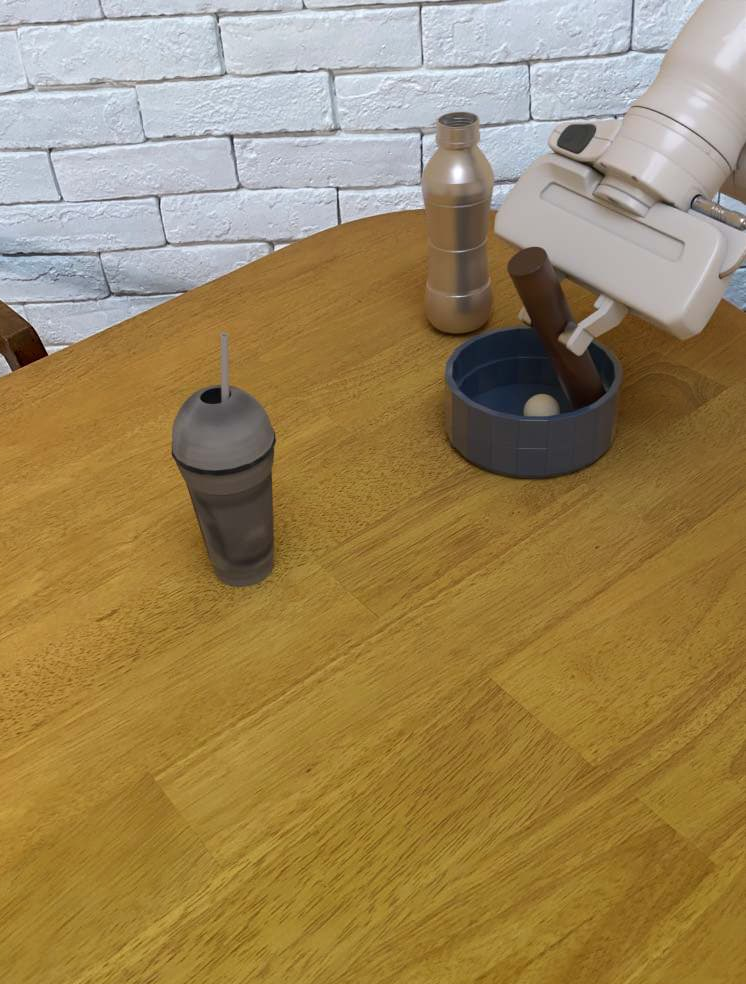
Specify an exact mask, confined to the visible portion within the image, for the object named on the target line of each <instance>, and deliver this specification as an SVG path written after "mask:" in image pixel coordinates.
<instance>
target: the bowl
mask: <svg viewBox="0 0 746 984" xmlns="http://www.w3.org/2000/svg"><path fill="white" fill-rule="evenodd" d="M587 348H588V351H589V353H590V355H591V358H592V360H593V362H594V365H595V367H596V369H597V372H598V374H599V376H600V379H601V381H602V383H603V386H604V388H605V390H606V394H605V395H604V396H602V397H601V398H600V399H599V400H597V401H596V402H595V403H593V404H591V405H588V406H586V407H583V408H581V409H579V410H576V411H574V412H573V410H572V408H571V406H570V404H569V401H568V399H567V397H566V395H565V393H564V391H563V389H562V386H561V384H560V382H559V380H558V378H557V376H556V374H555V371H554V369H553V367H552V365H551V363H550V361H549V359H548V356H547V354H546V352H545V350H544V348H543V346H542V343H541V341H540V339H539V337H538V335H537V333H536V331H535V330H534V329H532V328H531V327H529V326H527V325H526V324H519V325H518V324H517V325H511V326H504V327H497V328H494V329H490V330H488V331H485V332H482V333H480V334H476V335H474V336H472V337H470V338H469V339H467V340H466V341H464V342H463V343H461V344H460V345H459V346H457V347H456V348H454V350H453V351H452V353H451V354H450V356H449V357H448V359H447V360H446V362H445V371H444V431H445V433H446V436H447V437H448V439H449V441H450V444H451V446H453V447H454V448H455V450H456V451H457V452H458V453H459V454H460V455H461V456H462V457H463V458H464V459H465V460H467V461H468V462H470V463H471V464H473V465H474V466H476V467H478V468H480V469H482V470H485V471H487V472H490V473H493V474H496V475H500V476H504V477H509V478H514V479H515V478H516V479H526V480H528V479H529V480H530V479H531V480H536V479H538V480H540V479H551V478H557V477H561V476H566V475H569V474H573V473H575V472H578V471H581V470H583V469H584V468H586V467H588V466H590V465H592V464H594V463H595V462H596V461H597V460H598V459H600V458H601V457H602V455H603V454H605V453H606V452H607V451H608V450H609V449H611V448H610V447H611V446H612V444H613V442H614V439H615V437H616V435H617V432H618V425H619V415H620V408H621V407H620V405H621V397H622V388H623V380H624V376H623V370H622V363H621V361H620V360H619V358H618V357H617V356H616V354H615V353H614V352H613V350H612V349H611V348H609V347H608V346H607V345H606V344H604V343H602V342H601V341H599V340H597V339H596V338H595V337H594V338H593V340H592V341H591V343H590V344H589V346H588V347H587ZM538 394H546V395H549V396H551V397H553V398H554V399H555V400H556V401H557V403H558V405H559V407H560V414H557V415H552V416H524V407H525V404H526V403H527V401H528V400H529V399H530V398H531V397H533V396H535V395H538Z"/></svg>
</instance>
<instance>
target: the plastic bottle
mask: <svg viewBox="0 0 746 984" xmlns="http://www.w3.org/2000/svg"><path fill="white" fill-rule="evenodd" d="M480 121H481V120H480V117H479V115H478V114H476V113H473V112H471V111H451V112H448V113H444V114H442V115H440V116H439V117H438V118H437V120H436V134H435V140H434V141H435V144H436V145H437V146H438V147H437V149H436V150H435V151H434V152H433V154H432V155H431V157H430V159H429V160H428V161H427V163H426V165H425V167H424V169H423V171H422V175H421V179H420V186H421V193H422V201H423V207H424V212H425V217H426V223H427V224H426V227H427V235H428V249H429V251H428V267H427V279H426V282H425V283H426V284H425V289H424V300H423V306H424V311H425V315H426V319H427V320H428V321H429V323H430V324H431V325H432V326H433V327H434V328H435V329H437V330H438V331H440V332H443V333H447V334H466V333H471V332H473V331H476V330H478V329H480V328H481V327H483V325H484V324H485V323H486V322H487V321H488V319H489V318H490V317H491V314H492V309H493V305H494V292H493V285H492V281H491V277H490V270H489V269H490V268H489V267H490V266H489V255H488V234H489V219H490V213H491V206H492V201H493V200H492V199H493V194H494V186H495V185H494V184H495V175H494V171H493V167H492V165H491V163H490V162H489V160H488V158H487V157H486V155H485V153H484V152H483V151H482V150H481V148H480V147H479V145H478V143H480V141H481V132H480Z"/></svg>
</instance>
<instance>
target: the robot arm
mask: <svg viewBox="0 0 746 984" xmlns="http://www.w3.org/2000/svg"><path fill="white" fill-rule="evenodd" d="M547 145H548V147H549V149H551V151H552V152H547V153H544V154H541V155H539V156H538V157H537V158H535V159H534V160H533V161H532V162H531V163H530V164H529V165H528V166H527V168H526V169H525V170H524V172H523V173H522V174H521V176H520V177H519V178H518V180H517V181H516V183H515V184H514V186H513V187H512V188H511V190H509V193H508V194H507V196H506V197H505V199H504V200H503V202H502V204H501V205H500V206H499V209H498V210H497V212H496V214H495V217H494V224H493V233H494V235H495V236H496V237H497V238H498V239H500V240H501V241H502V242H503V243H504V244H505V245H506V246H508V247H509V248H510V249H511V250H513V251H515V252H516V253H518V252H519V251H521V250H523V249H525V248H529V247H541V248H543V249H544V250H545V251H546V253H547V255H548V257H549V260H550V262H551V264H552V267H553V269H554V271H555V274H556V276H557V278H558V281H559V283H560V285H561V284H562V283H563V282H564V280H565V279H567V280H569V281H570V282H572V283H575V284H576V285H578V286H579V287H581V288H583V289H585V290H587V291H589V292H591V293H593V294H594V295H596V296H598V298H597V299H596V300H595V302H594V304H593V307H594V308H595V311H594V312H593V313H591V314H589V316H587V317H586V318H584V319H583V320H581V321H580V322H579V323H577V325H576V324H574V323H572V322H570V321H569V322H568V324H567V325H566V327H565V328H564V332H563V333H561V334H560V336H559V338H558V343H559V344H560V345H562V346H563V347H564V348H566V349H568V350H569V351H571V352H572V353H574V354H576V355H577V356H580V355H582V354H583V353H584V351H585V350H586V348H587V347H588V346H589V344H590V343H591V341H592V340H593V338H595V339H596V338H598V337H600V336H602V335H603V334H605V333H607V332H608V331H611V330H612V329H614V328H615V327H617V326H620V324H621V323H622V321H623V319H624V318H625V316H626V315H627V314H628V313H629V314H632V315H633V316H635V317H637V318H639V319H641V320H643V321H645V322H646V323H648V324H650V325H651V326H653V327H656V328H657V329H660V330H662V331H663V332H665V333H667V334H668V335H671V336H673V337H674V338H676V339H678V340H680V341H686V340H688V339H691V338H693V337H695V336H698V335H699V334H700V333H701V332H702V331H703V330H704V328H705V327H706V326H707V324H708V322H709V321H710V320H711V318H712V316H713V315H714V312H715V311H716V309H717V308H718V306H719V304H720V302H721V300H722V298H723V297H724V295H725V293H726V291H727V289H728V287H729V285H730V283H731V281H732V278H733V276H734V274H735V272H737V271H738V270H739V269H740V267H741V266H742V265H743V264H744V262H745V261H746V232H744V231H746V214H744V213H742V212H739V211H737V210H730V209H729V208H726V207H725V206H723V205H721V204H719V203H717V202H715V201H713V200H714V198H715V197H716V196H717V194H718V193H720V194H722V195H724V196H727V197H729V198H731V199H732V200H736V201H738V202H740V203H742V204H743V205H744V206H746V0H702V2H701V3H700V4H699V5H698V7H697V8H696V10H694V12H693V14H692V15H691V16H690V18H689V19H688V20H687V22H686V23H685V25H684V26H683V28H682V29H681V30H680V32H679V33H678V35H677V36H676V37H675V39H674V41H673V42H672V43H671V45H670V47H669V48H668V50H666V53H665V54H664V56H663V58H662V60H661V64H660V67H659V69H658V73H657V74H656V77H655V79H654V80H653V82H652V83H651V85H650V86H649V87H648V89H646V91H645V92H644V93H643V94H642V95H641V96H639V97H638V98H636V100H634V102H633V103H632V104H631V105H630V107H629V109H628V110H627V111H626V113H625V114H624V116H623V117H622V118H621V119H620V118H619V119H618V118H613V119H605V120H595V121H594V120H593V121H563V122H560V123H559V124H557V125H556V126H555V127H554V129H553V130H552V132H551V133H550V136H549V137H548V139H547ZM517 320H519V321H520V322H521V323H523V325H527V326H529V327H531V328H532V329H534V330H535V328H534V326H533V324H532V322H531V320H530V318H529V316H528V313H527V311H526V309H525V307H524V305H522V308H521V309H520V310H519V312H518V314H517Z"/></svg>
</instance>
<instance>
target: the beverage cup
mask: <svg viewBox="0 0 746 984" xmlns="http://www.w3.org/2000/svg"><path fill="white" fill-rule="evenodd" d="M219 336H220V337H219V338H220V339H219V340H220V384H214V385H210V386H207V387H203V388H200V389H199V390H197V391H195V392H194V393H192V394H191V395H190V396H189V397H187V399H186V400H184V402H183V403H182V404H181V405H180V407H179V408H178V411H177V413H176V415H175V418H174V419H173V423H172V428H171V456H172V458H173V460H174V461H175V463H176V464H175V465H176V466H177V469H178V471H179V473H180V475H181V477H182V479H183V480H184V482H185V485H186V487H187V491H188V495H189V497H190V500H191V504H192V507H193V511H194V513H195V514H194V515H195V517H196V521H197V523H198V526H199V530H200V532H201V533H200V534H201V536H202V539H203V543H204V546H205V549H206V553H207V555H208V559H209V560H210V562H211V565H212V567H213V570H214V574H215V576H216V577H217V579H218V580H219V581H221V583H223V584H225V585H228V586H232V587H248V586H253V585H254V584H258V583H261V582H262V581H263V580H265V579H267V577H268V576H269V575H270V574H271V573H272V571H273V568H274V565H275V564H274V551H275V533H274V501H273V498H274V497H273V466H274V461H275V446H276V443H277V437H276V432H275V429H274V427H273V426H272V423H271V418H270V416H269V414H268V412H267V411H266V409H265V408H264V407H263V406H262V404H261V402H259V400H258V399H257V398H256V397H255V396H253V395H252V394H251V393H250V392H248V391H246V390H244V389H242V388H240V387H237V386H233V385H230V358H229V357H230V355H229V354H230V353H229V352H230V351H229V334H228V333H226V332H222V333H221V334H219Z"/></svg>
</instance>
